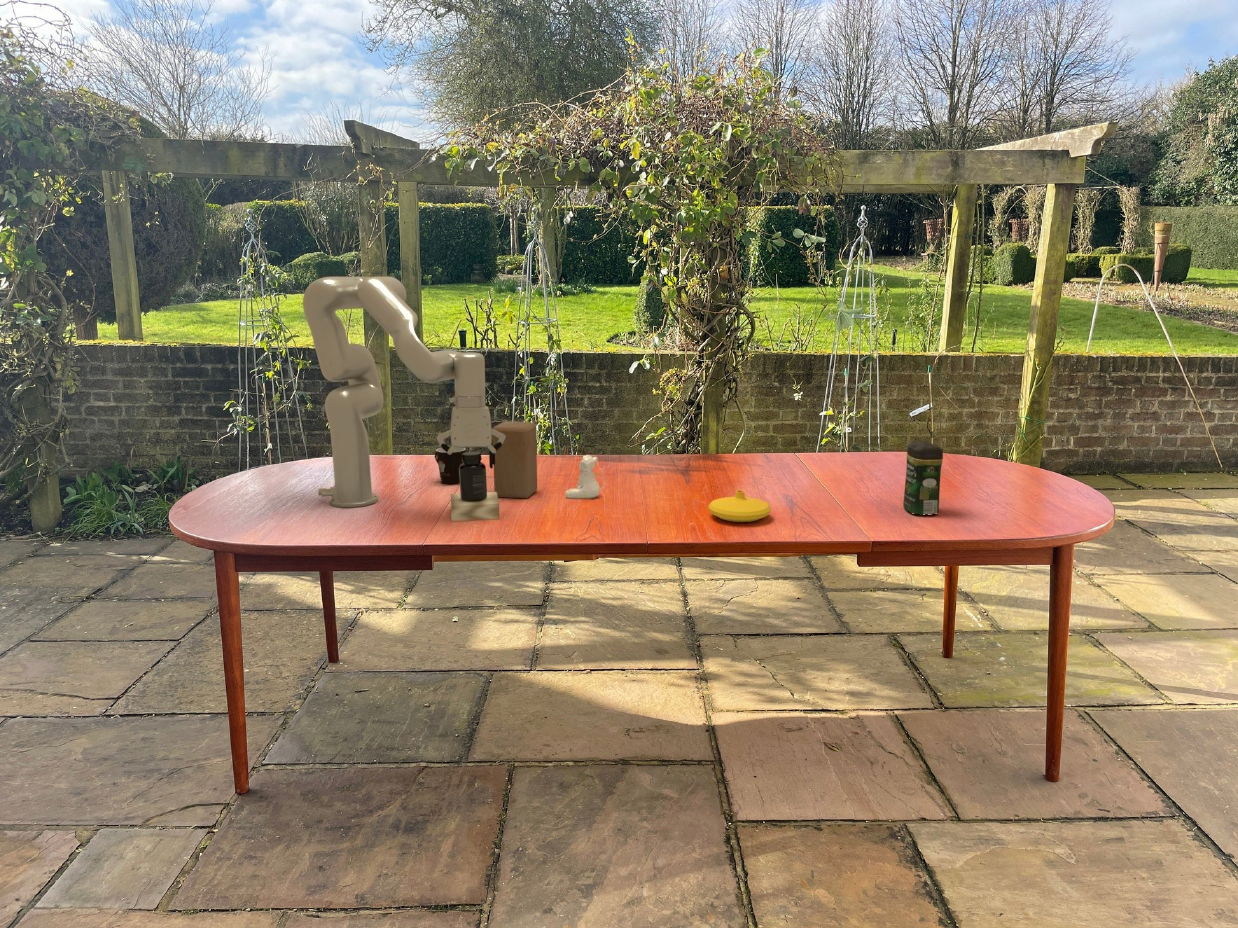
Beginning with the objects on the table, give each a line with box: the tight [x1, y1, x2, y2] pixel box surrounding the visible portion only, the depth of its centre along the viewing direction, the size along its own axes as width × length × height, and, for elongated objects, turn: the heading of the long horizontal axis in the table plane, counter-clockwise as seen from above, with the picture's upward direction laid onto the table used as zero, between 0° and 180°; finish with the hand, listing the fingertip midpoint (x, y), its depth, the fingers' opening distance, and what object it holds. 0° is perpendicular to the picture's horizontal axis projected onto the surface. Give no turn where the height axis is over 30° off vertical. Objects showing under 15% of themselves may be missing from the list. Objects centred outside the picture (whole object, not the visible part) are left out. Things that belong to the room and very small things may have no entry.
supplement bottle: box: [459, 451, 488, 502], centre depth 220 cm, size 7×7×12 cm
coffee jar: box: [902, 440, 944, 516], centre depth 221 cm, size 10×8×19 cm
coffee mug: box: [434, 447, 467, 486], centre depth 256 cm, size 12×9×10 cm
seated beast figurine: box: [565, 454, 601, 500], centre depth 238 cm, size 10×9×12 cm
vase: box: [708, 490, 772, 523], centre depth 218 cm, size 16×16×7 cm
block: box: [492, 421, 538, 499], centre depth 240 cm, size 10×10×20 cm
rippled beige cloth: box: [450, 491, 501, 522], centre depth 222 cm, size 12×12×4 cm
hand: (472, 468), depth 220 cm, fingers open, 9 cm apart
